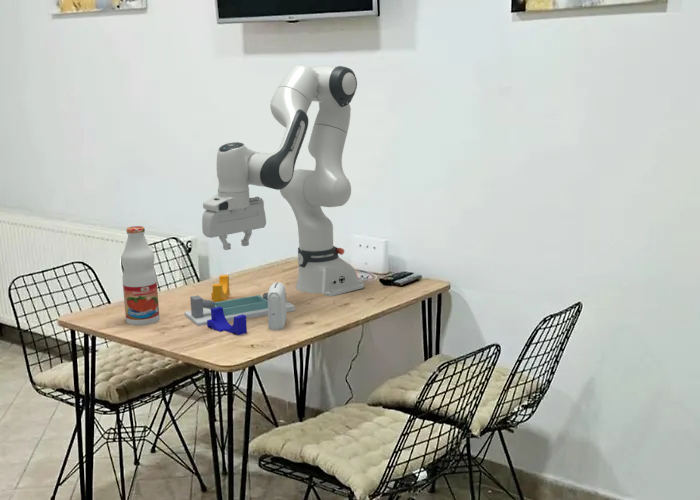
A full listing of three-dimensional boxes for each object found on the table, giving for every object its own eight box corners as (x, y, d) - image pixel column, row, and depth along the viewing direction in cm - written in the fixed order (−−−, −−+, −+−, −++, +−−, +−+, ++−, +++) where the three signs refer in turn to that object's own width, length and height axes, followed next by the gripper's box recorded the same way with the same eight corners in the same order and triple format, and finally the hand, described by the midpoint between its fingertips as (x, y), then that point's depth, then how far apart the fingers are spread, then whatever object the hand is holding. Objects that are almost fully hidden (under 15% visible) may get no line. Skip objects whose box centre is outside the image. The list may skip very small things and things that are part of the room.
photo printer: (282, 332, 232) (281, 289, 229) (267, 332, 232) (265, 289, 229) (287, 320, 242) (286, 278, 239) (272, 320, 242) (271, 278, 239)
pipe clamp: (216, 294, 268) (215, 275, 266) (229, 294, 268) (228, 275, 266) (207, 306, 256) (206, 285, 255) (222, 306, 256) (220, 285, 255)
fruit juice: (155, 315, 248) (148, 222, 241) (163, 325, 239) (156, 228, 233) (123, 320, 244) (115, 226, 237) (129, 330, 236) (121, 232, 229)
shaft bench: (278, 300, 260) (277, 278, 259) (294, 310, 250) (294, 287, 248) (184, 316, 246) (183, 293, 245) (198, 328, 236) (196, 304, 234)
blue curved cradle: (207, 330, 235) (206, 310, 233) (220, 326, 238) (219, 306, 236) (233, 340, 227) (232, 319, 225) (247, 336, 230) (246, 315, 228)
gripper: (256, 194, 249) (258, 239, 253) (197, 203, 236) (200, 251, 239) (269, 197, 245) (271, 243, 248) (210, 206, 231) (213, 255, 235)
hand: (236, 247), depth 243 cm, fingers open, 5 cm apart
